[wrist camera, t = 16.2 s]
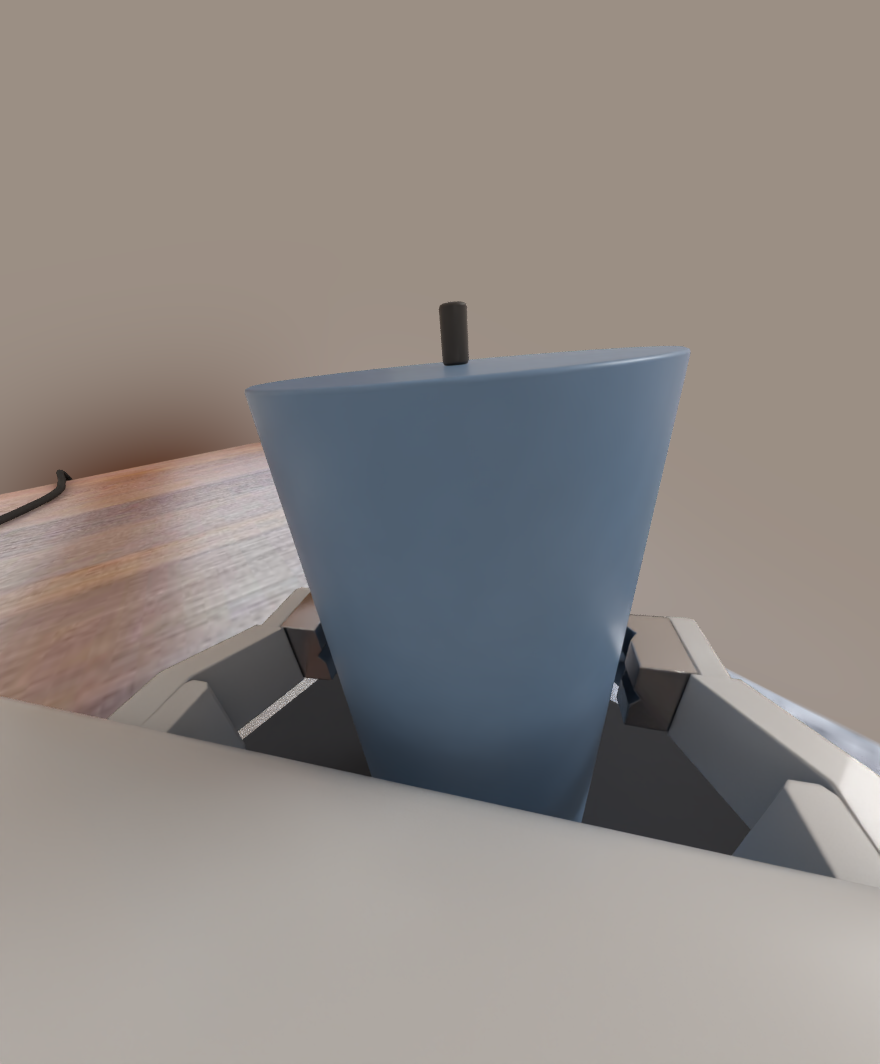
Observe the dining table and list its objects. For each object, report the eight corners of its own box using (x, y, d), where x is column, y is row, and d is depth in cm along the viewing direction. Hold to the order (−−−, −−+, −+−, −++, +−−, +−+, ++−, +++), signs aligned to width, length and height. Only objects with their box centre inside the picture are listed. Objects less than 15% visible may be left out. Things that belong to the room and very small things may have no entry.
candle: (356, 821, 11) (150, 330, 5) (462, 693, 15) (432, 327, 9) (516, 1018, 8) (610, 117, 1) (601, 785, 12) (734, 277, 5)
